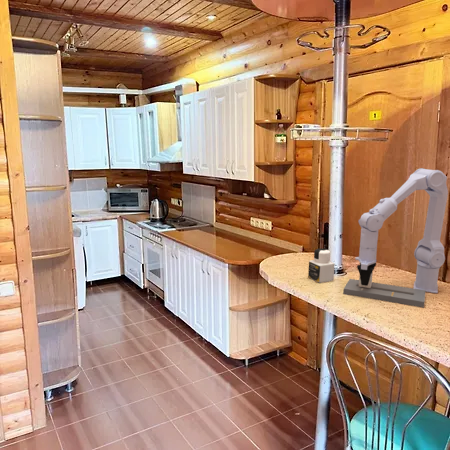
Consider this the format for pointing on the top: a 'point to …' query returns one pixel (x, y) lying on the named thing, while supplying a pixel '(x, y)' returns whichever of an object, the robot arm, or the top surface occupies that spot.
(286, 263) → the top surface
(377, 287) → the fader console
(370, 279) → the fader tab
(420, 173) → the robot arm
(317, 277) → the medicine bottle
